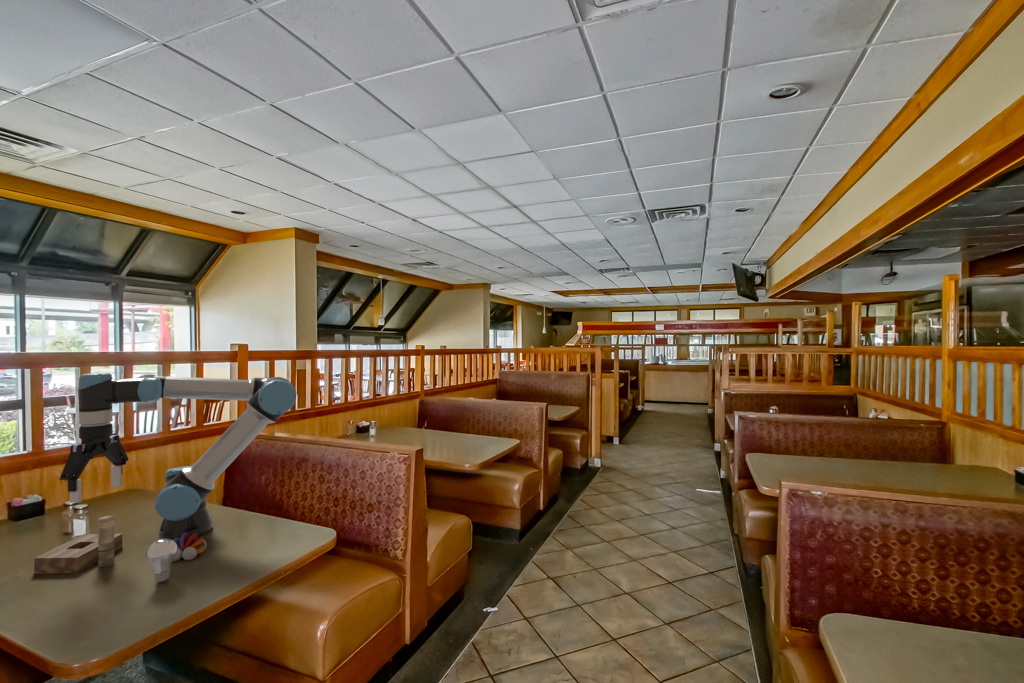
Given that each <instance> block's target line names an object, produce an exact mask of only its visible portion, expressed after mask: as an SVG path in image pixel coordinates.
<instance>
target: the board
mask: <svg viewBox="0 0 1024 683" xmlns="http://www.w3.org/2000/svg"><path fill="white" fill-rule="evenodd" d="M114 546H115V548H114V553H115V552H116V551H117V552H118V551H119V550H120V549H122V548H123V533H114ZM33 560H34V561H33V565H34V566H33V567H34V568H33V573H34V575H35V574H36V575H37V574H41V575H43V574H44V575H45V574H77V573H79V572H81V571H84V570H85V569H87V568H90V566H92V565H94V564H95V563H97V562H98V533H85V534H84V533H83V534H82V535H79V536H77V537H75V538H73V539H71V540H69V541H67V542H65V543H63V544H61V545H59V546H57V547H55V548H53V549H50V550H48V551H46V552H45V553H43V554H40V555H37V556H36V557H34V558H33Z"/></svg>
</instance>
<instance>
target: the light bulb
mask: <svg viewBox="0 0 1024 683" xmlns="http://www.w3.org/2000/svg"><path fill="white" fill-rule="evenodd" d="M177 549H178V548H177V544H176V543H175V542H174V541H173V540H171V539H167V538H164V539H157V540H156V541H154V542H153V543H152V544H151V545H149V547H148V549H147V550H146V555H145V557H146V561H147V562H148V564H150V566H151V567H152V569H153V570H152V571H153V573H154V581H155V582H157V583H159V584H162V583H165V581H168V580H167V579H168V578H170V569H171V566H172V562H174V561H173V559H174V558H175V556H176V554H177Z"/></svg>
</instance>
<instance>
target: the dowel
mask: <svg viewBox="0 0 1024 683" xmlns="http://www.w3.org/2000/svg"><path fill="white" fill-rule="evenodd" d="M97 524H98V527H97V528H98V530H97V531H98V533H97V534H98V561H97V562H98V563H97V565H98V568H104V567H109V566H112V565H113V564H115V552H114V548H115V546H114V534H115V515H106V516H102V517H100V518H98V521H97Z"/></svg>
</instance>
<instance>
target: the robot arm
mask: <svg viewBox="0 0 1024 683" xmlns="http://www.w3.org/2000/svg"><path fill="white" fill-rule="evenodd" d="M77 393H78V396H77V398H78V424H79V425H80V426H79V427H78V437H79V439H80V440H81V443H80V444H71V445H70V450H69V451H70V452H69V454H68V457H67V459H66V462H65V464H64V467H63V469H62V472H61V474H60V476H59V480H60V481H67V491H68V493H69V503H82V500H83V499H82V497H83V496H82V479H81V478H80V476H81V475H82V473H83V471H84V470H85V469H86V467H87V465H88V464H89V462H90V461H91V460H92V459H94V457H96V456H99V455H103V456H104V457H105V458H106V459H108V461H109V462H110V463H111V464H112V465H111V466H110V486H111V487H112V488H113V487H117V488H118V487H119V488H120V487H122V486H123V484H122V483H123V482H122V479H123V478H122V476H123V466H125V465H126V464H127V462H128V461H129V457H128V454H127V453H126V451H125V449H124V446H123V444H122V442H121V438H120V435H119V434H118V435H114V434H113V433H114V432H113V427H114V426H113V423H111V422H113V404H123V403H124V404H126V403H127V404H128V403H148V402H149V403H150V402H156V401H159V400H160V399H185V400H186V399H187V400H188V399H189V400H193V399H194V400H217V401H222V400H223V401H243V402H245V401H246V409H245V410H244V411H243V412H242V414H240V416H238V417H237V418H236V419H235V421H234V422H233V423H231V425H229V427H228V428H227V429H226V430H225V431H224V432H223V433H221V435H220V436H219V437H218V438H217V439H216V440H215V441H214V443H212V444H211V445H210V446H209V448H207V450H205V451H204V453H203V454H202V455H201V456H200V457H199V458H198V459H197V460H196V461H195V462H194V463H193V464H192V465H187V466H178V467H174V468H169V469H167V470H166V471H165V476H164V479H165V483H164V485H163V487H162V489H161V490H160V491H159V493H158V494H157V495H156V498H155V503H154V507H155V511H156V513H157V514H158V515H159V516H160V517H161V518H162V519H163V520H162V522H161V524H160V528H159V530H158V540H160V539H164V538H167V539H171V540H174V539H175V538H181V536H182V534H184V533H188V534H189V535H190V536H191V535H192V534H194V533H197V537H200V536H203V535H204V534H207V533H208V532H209V531H211V529H212V528H213V522H212V518H211V516H210V513H209V511H208V508H207V497H208V496H209V495H210V494H211V492H213V490H214V489H215V488H216V487H215V481H216V480H217V479H218V478H219V477H220V475H221V474H222V473H224V472H225V471H226V469H227V468H228V467H229V466H230V465H231V464H232V463H233V462H234V461H235V460H236V459H237V457H238V456H239V455H240V454H241V453H242V452H243V451H244V450H246V448H247V447H248V445H250V444H251V443H252V441H254V439H255V438H256V437H257V436H258V435H259V434H260V433H261V432H262V431H263V430H264V429H265V428H266V427H267V425H269V424H275V423H276V422H277V421H278V420H279V419H280V418H281V417H282V416H283V415H284V414H285V413H287V412H289V411H290V410H291V409H292V408H293V407H294V405H295V403H296V400H297V390H296V388H295V386H294V385H293V383H292V382H291V381H289V380H288V379H287V378H284V377H279V376H273V377H253V378H251V379H233V378H231V379H230V378H213V377H209V378H208V377H191V376H190V377H189V376H170V375H165V376H164V375H155V374H142V375H141V376H138V377H135V378H134V377H133V378H132V377H131V378H120V379H119V378H113V375H112V374H111V373H110V372H95V373H94V372H93V373H83V374H81V375H79V377H78V389H77ZM221 476H222V475H221Z"/></svg>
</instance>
